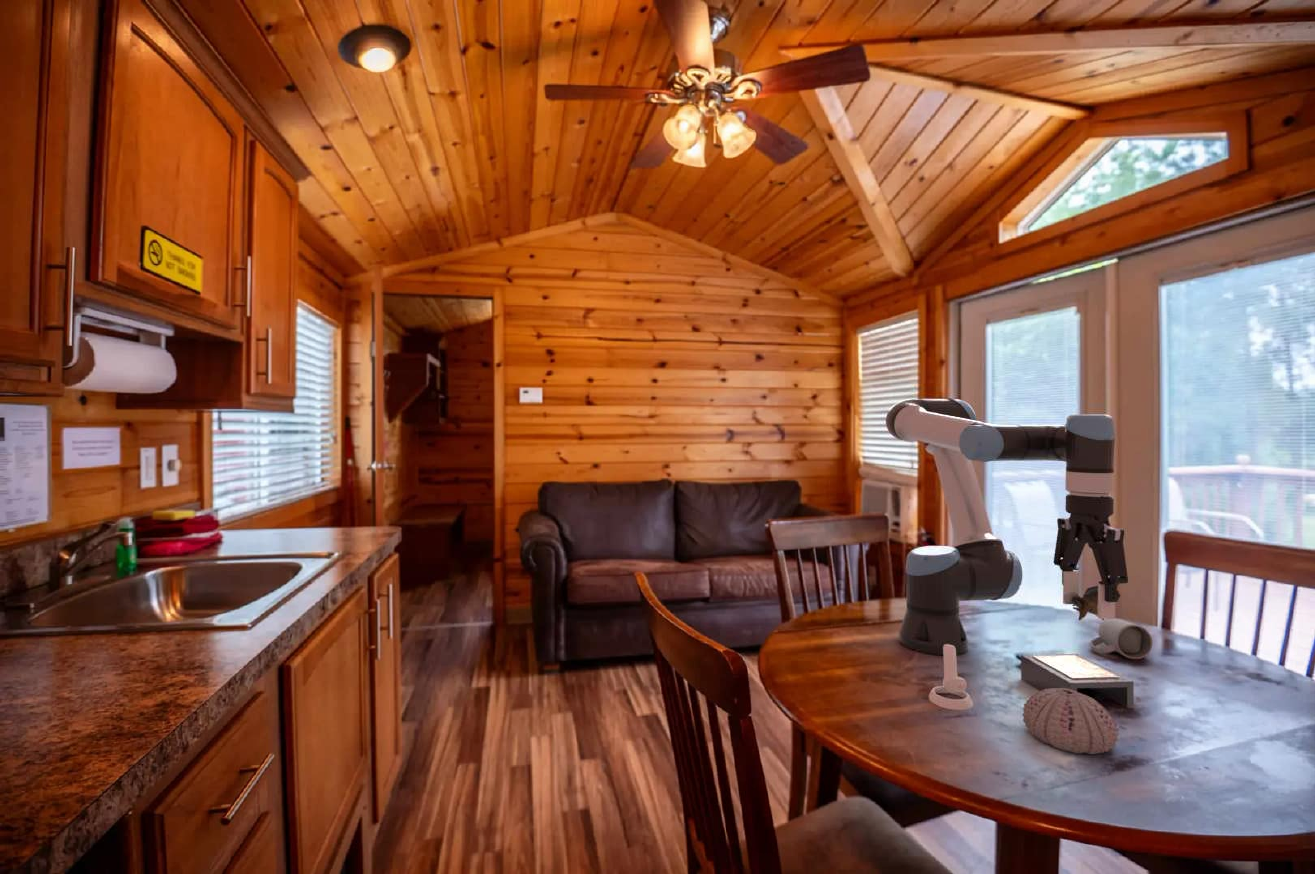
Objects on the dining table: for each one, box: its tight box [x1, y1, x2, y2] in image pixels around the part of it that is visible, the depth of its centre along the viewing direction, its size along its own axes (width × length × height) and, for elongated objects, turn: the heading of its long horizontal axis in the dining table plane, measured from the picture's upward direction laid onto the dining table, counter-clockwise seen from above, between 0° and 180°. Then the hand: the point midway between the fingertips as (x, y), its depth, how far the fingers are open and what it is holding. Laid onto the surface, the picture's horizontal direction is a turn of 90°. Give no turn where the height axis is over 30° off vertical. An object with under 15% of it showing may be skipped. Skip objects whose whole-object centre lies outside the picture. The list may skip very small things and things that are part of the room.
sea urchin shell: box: [1022, 688, 1120, 755], centre depth 99 cm, size 13×14×8 cm
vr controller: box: [928, 644, 974, 711], centre depth 115 cm, size 8×12×7 cm
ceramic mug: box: [1089, 618, 1153, 660], centre depth 138 cm, size 11×8×8 cm
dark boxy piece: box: [1020, 653, 1135, 710], centre depth 116 cm, size 12×14×5 cm
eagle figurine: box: [1064, 585, 1121, 622], centre depth 116 cm, size 8×7×9 cm
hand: (1087, 610), depth 115 cm, fingers closed on eagle figurine, 8 cm apart
